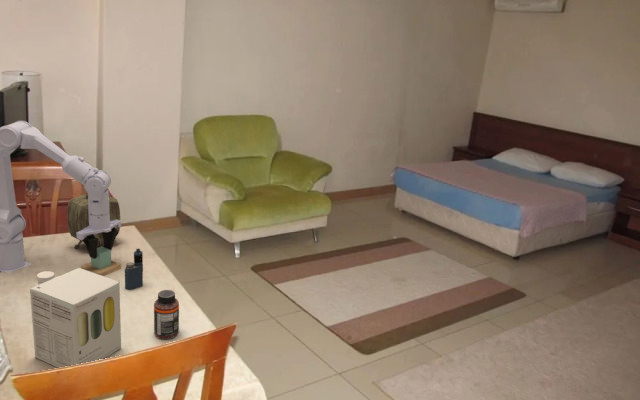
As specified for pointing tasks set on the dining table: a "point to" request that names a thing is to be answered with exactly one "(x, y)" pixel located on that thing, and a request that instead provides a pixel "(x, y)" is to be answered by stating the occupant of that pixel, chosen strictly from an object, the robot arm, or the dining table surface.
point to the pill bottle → (44, 277)
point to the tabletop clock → (87, 216)
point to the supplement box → (76, 318)
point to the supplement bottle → (166, 315)
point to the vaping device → (134, 272)
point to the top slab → (104, 271)
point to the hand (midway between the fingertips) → (100, 254)
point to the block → (102, 258)
